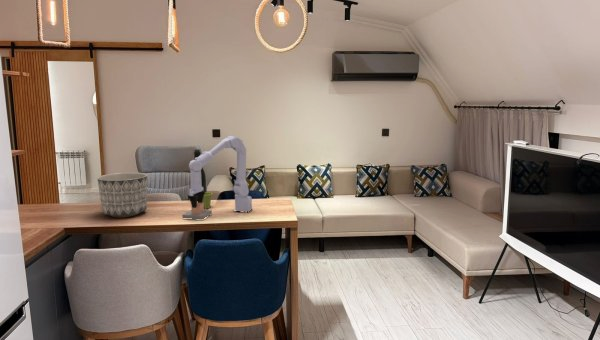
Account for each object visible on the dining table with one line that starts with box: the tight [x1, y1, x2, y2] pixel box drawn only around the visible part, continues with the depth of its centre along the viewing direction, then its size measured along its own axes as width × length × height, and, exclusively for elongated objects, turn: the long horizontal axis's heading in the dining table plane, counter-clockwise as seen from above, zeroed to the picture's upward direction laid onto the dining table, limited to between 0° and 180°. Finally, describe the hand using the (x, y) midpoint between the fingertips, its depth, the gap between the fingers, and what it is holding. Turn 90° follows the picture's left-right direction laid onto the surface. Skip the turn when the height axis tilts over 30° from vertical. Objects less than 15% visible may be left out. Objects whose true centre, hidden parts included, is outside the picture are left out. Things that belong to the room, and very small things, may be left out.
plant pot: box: [202, 191, 213, 210], centre depth 265 cm, size 9×9×9 cm
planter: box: [97, 172, 148, 218], centre depth 249 cm, size 26×26×22 cm
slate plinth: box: [182, 209, 213, 220], centre depth 245 cm, size 12×12×3 cm
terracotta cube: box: [190, 202, 205, 214], centre depth 245 cm, size 5×5×5 cm
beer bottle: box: [189, 148, 208, 195], centre depth 283 cm, size 10×10×33 cm
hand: (197, 205), depth 244 cm, fingers open, 7 cm apart
